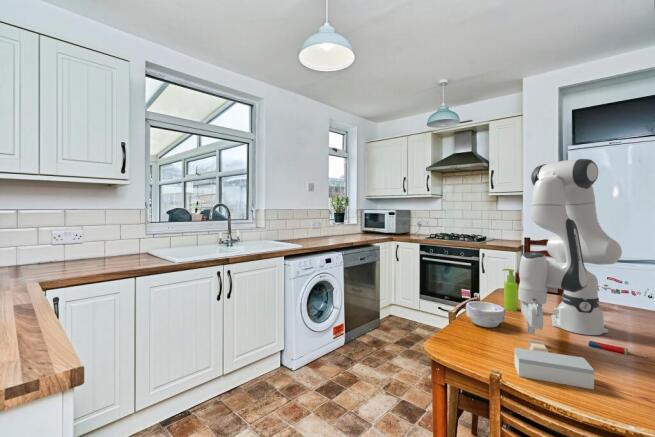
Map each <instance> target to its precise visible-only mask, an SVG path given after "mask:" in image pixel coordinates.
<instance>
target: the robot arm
mask: <svg viewBox="0 0 655 437" xmlns="http://www.w3.org/2000/svg"><path fill="white" fill-rule="evenodd" d="M598 176H599V169H598V165H597V164H596V163H595V161H593V160H592V159H589V158H579V159H567V160H561V161H560V160H559V161H557V162H556V161H555V162H551V163H544V164H540V165H537V166H536V167H535V168H534V169H533V170H532V172H531V176H530V180H531V183H532V185H533V190H532V194H531V200H530V201H531V203H530V217H531V220H532V222H534V224H535V225H536V226H538V227H539V228H542V229H543V230H546V231H548V232H551V233H553V234H555V235H553V236H551V237H550V238H549V239H548V240H547V241H546V251H547V253H548V255H549V256H551V258H553V260H555V261H551V260H548V259H547V258H546V254H544V253H542V252H536V251H533V252H531V251H530V252H525V253H523V254H522V255H521V257H520V262H519V268H518V277H519V283H518V301H520V310H521V314H522V315H523V317H524V319H525V320H526V326H527V330H526V331H527V332H528V334H529V335H533V336H534V335H535V333H536V332H535V331H536V330H543V328H544V310H543V305H545V304H547V293H548V291H547V290H548V288H547V287H549V288H555V289H561V290H563V292H562V294H561V302H560V303H559V304H558V305H557V307H553V312H552V313H553V314H551V316H550V317H551V318H550V319H551V325H552V327H555V328H558V329H562V330H564V331H568V332H570V333H576V334H580V335H585V336H600V335H602V334H608V333H609V330H608V328H605V323H604V322H605V321H604V312H603V311H602V309H600V298H599V291H598V290H599V281H598V278H597V276H596V275H595V274H593V273H592V272H590V271H589V270H588V269H587V268H586V267H585V264H591V265H614V264H616V263H617V262H618V261H619V260H620V259H621V257H622V253H623V251H622V247H621V245H620V244H619V242H618V241H617V240H615V239H613V238H612V237H610V236H609V235H608V234H607V233H606V232H605V231H604V230H603V228H602V226H601V225H600V223H599V219H598V214H597V207H596V199H595V198H596V196H595V192H594V188H593V185H594V183H595V182H596V181H597V179H598Z"/></svg>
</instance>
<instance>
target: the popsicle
mask: <svg viewBox="0 0 655 437" xmlns="http://www.w3.org/2000/svg"><path fill="white" fill-rule="evenodd" d="M588 347H589V348H594V349H598V350H602V351H607V352H611V353H615V354H620V355H623V356H628V355H632V356H634V357H635V356H636V357H638V358H639V357H640V358H644V359H647V357H648V355H646V354H643V353H642V354H641V353H636V352H632V351H628V348H626V347H621V346H617V345H611V344H607V343H602V342H599V341H593V340H589V341H588Z"/></svg>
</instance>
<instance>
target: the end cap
mask: <svg viewBox="0 0 655 437" xmlns="http://www.w3.org/2000/svg"><path fill="white" fill-rule="evenodd" d="M513 364H514V367H515V370H516V372H517V376H518V377H519V378H526V379H532V380H537V381H544V382H550V383H555V384H561V385H565V384H566V385H565V386H572V387H576V388H577V387H579V388H583V389H588V390H589V389H590V390H595V369H594V368H593V367H592V366H591V365H590V363H589V362H588V361H587V360H586V358H584V357H581V356H575V355H566V354H560V353H554V352H549V353H547V352H541V351H534V350H530V349H525V348H519V347H514V363H513Z"/></svg>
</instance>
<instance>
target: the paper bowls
mask: <svg viewBox="0 0 655 437" xmlns="http://www.w3.org/2000/svg"><path fill="white" fill-rule="evenodd" d="M465 308H466V309H465V315H466V317H468V318H469V319H470V320H471V322H472V323H473V324H475V325H477V326H478V327H483V328H496V327H498V326H499V325H500V323H501V324H502V323H504V322H505V319H506V309H504V306H501V305H499V304H496V303H493V302H487V301H480V300H479V301H478V300H477V301H475V300H474V301H468V302H467V303H466V304H465Z"/></svg>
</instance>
